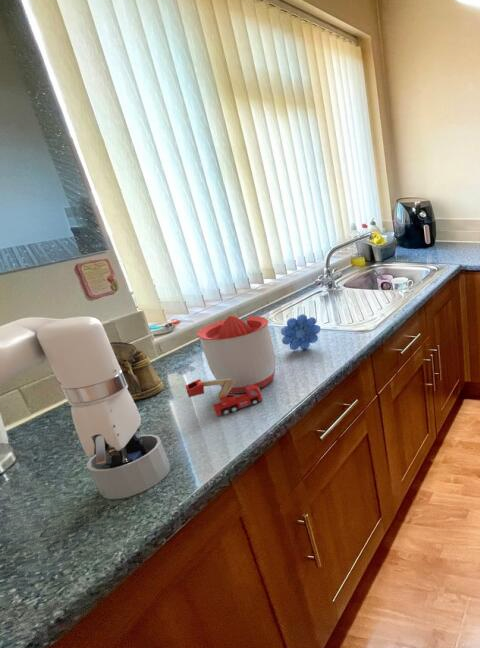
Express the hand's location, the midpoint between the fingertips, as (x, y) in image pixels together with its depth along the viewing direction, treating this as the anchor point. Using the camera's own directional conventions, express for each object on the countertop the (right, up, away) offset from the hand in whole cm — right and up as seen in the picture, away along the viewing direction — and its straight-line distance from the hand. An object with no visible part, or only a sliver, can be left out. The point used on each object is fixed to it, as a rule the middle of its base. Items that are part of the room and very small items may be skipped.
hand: (133, 469), depth 77 cm
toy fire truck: (+3, +6, +22) cm, 23 cm away
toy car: (0, -1, +1) cm, 2 cm away
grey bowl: (0, -2, +1) cm, 2 cm away
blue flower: (+4, +19, +55) cm, 59 cm away
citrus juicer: (0, +11, +35) cm, 37 cm away
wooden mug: (-25, +8, +29) cm, 39 cm away
